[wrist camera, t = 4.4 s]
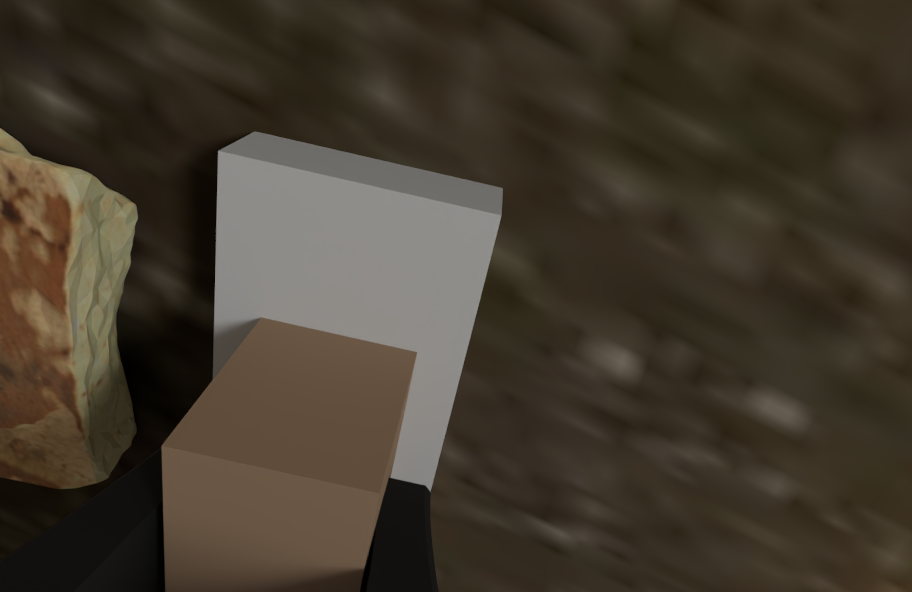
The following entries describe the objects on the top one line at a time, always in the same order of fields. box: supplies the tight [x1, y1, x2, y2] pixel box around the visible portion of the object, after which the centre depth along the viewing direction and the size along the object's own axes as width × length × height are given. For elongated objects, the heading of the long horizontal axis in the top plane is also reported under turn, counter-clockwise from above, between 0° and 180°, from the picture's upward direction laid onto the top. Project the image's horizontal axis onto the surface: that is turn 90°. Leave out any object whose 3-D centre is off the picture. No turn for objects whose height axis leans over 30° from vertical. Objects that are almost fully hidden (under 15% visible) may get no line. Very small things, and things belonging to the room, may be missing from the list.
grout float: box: [162, 132, 503, 592], centre depth 10 cm, size 10×4×4 cm, turn 168°
